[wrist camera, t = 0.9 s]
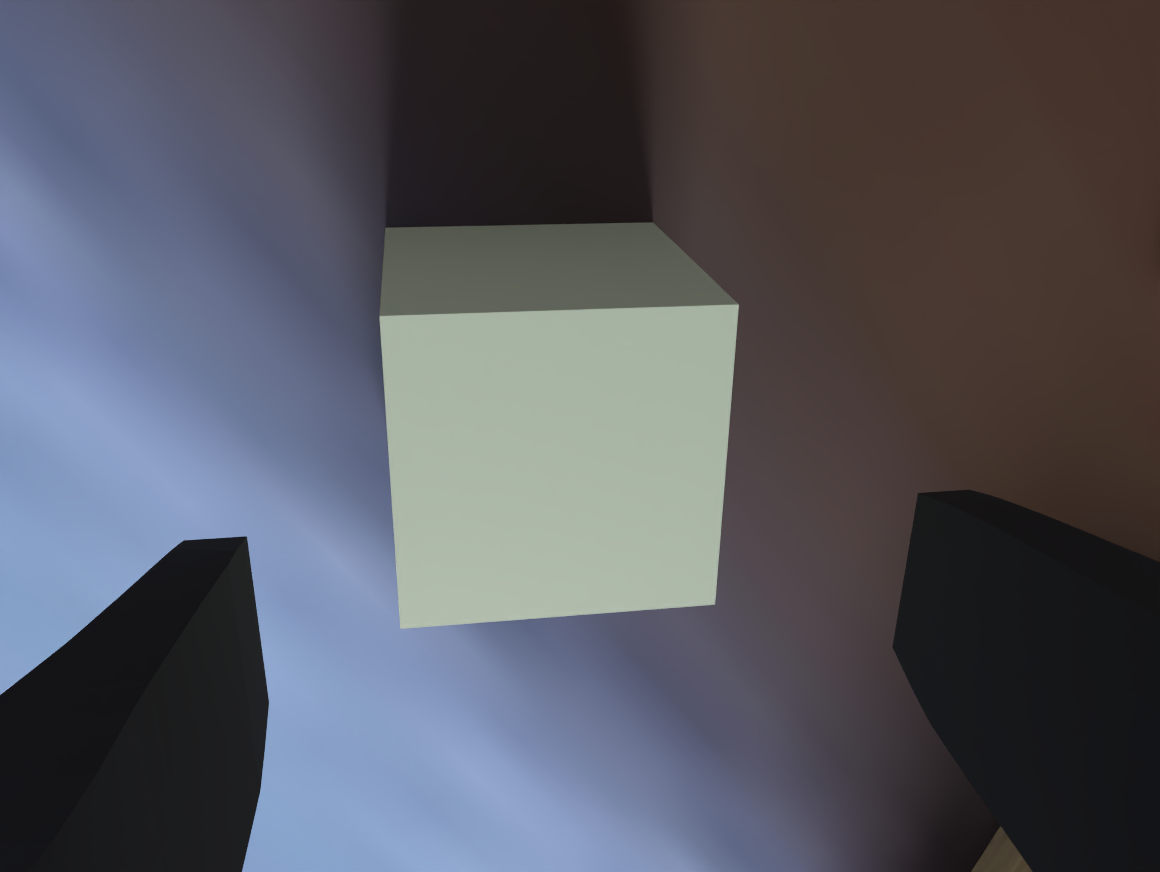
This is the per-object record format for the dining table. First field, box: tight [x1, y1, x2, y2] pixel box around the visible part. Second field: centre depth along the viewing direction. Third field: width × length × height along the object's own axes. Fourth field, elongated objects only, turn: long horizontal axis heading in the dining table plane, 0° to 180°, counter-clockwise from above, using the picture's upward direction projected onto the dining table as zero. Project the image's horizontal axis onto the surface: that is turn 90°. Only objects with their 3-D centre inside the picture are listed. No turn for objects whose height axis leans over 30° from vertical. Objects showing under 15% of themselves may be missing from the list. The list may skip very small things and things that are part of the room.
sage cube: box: [379, 222, 739, 629], centre depth 16 cm, size 4×4×5 cm
